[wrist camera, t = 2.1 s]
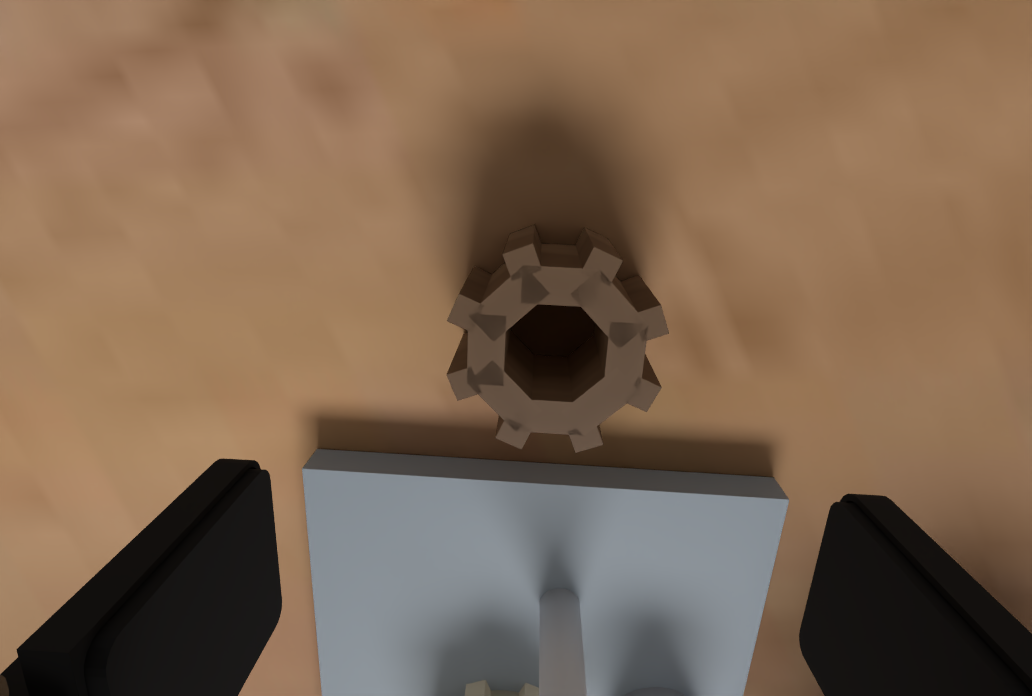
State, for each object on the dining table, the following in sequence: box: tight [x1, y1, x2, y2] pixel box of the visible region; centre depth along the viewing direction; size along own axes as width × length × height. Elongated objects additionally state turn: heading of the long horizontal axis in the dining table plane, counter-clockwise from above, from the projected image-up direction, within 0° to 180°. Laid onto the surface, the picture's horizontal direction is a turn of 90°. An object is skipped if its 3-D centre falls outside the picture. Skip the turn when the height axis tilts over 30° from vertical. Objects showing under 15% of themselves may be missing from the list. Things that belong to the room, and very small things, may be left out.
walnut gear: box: [447, 225, 669, 453], centre depth 19 cm, size 6×6×4 cm
